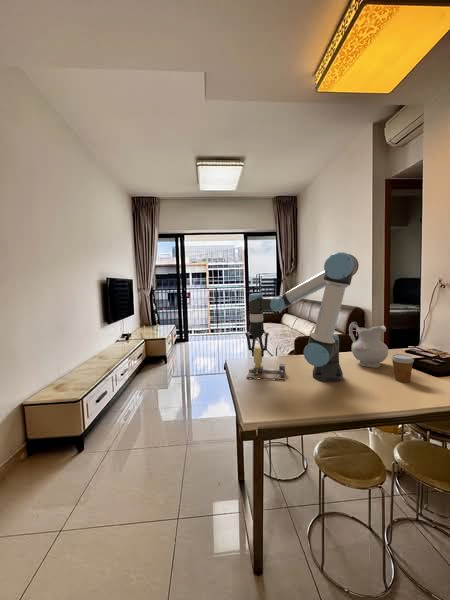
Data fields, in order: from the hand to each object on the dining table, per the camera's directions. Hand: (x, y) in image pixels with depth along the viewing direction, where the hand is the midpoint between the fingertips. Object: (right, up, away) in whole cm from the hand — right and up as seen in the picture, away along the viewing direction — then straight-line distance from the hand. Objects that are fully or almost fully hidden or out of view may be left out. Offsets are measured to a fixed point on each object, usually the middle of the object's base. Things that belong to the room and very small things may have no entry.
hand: (258, 362), depth 151 cm
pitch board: (+4, -7, -4) cm, 9 cm away
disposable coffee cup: (+70, -5, -18) cm, 72 cm away
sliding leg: (0, -5, -2) cm, 6 cm away
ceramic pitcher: (+66, -3, +9) cm, 67 cm away
